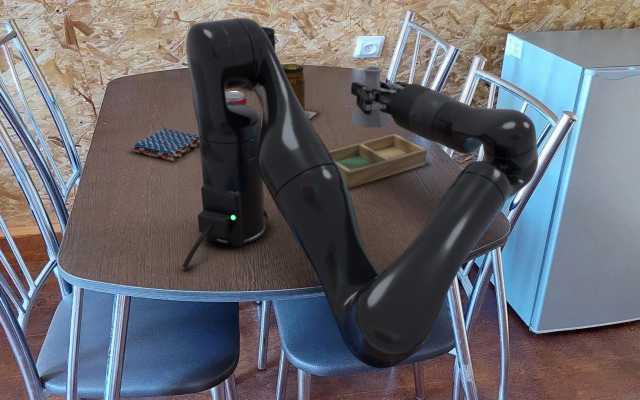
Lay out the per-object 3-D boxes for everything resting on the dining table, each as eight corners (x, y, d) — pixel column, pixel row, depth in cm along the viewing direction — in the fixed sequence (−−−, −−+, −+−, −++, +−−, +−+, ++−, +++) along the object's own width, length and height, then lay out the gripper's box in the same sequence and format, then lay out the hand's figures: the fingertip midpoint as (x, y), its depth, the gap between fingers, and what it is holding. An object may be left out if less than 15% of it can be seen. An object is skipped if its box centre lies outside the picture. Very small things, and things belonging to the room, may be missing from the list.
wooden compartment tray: (425, 164, 115) (427, 149, 114) (348, 188, 106) (349, 172, 104) (393, 147, 122) (394, 133, 121) (318, 168, 113) (319, 153, 111)
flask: (384, 131, 100) (388, 75, 95) (345, 126, 102) (347, 71, 97) (393, 117, 106) (397, 64, 101) (356, 113, 108) (358, 60, 103)
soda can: (244, 154, 117) (241, 99, 112) (220, 152, 118) (216, 97, 112) (252, 145, 122) (249, 91, 116) (229, 142, 123) (225, 89, 117)
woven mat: (131, 153, 118) (129, 144, 117) (163, 135, 126) (162, 127, 125) (171, 163, 114) (170, 153, 113) (202, 144, 122) (201, 135, 121)
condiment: (286, 108, 143) (285, 61, 137) (317, 113, 140) (317, 65, 134) (273, 117, 137) (271, 68, 131) (304, 123, 134) (304, 73, 128)
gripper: (392, 144, 89) (329, 112, 101) (456, 126, 96) (390, 98, 108) (395, 98, 85) (330, 71, 98) (462, 83, 92) (393, 59, 105)
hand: (362, 85), depth 103 cm, fingers closed on flask, 3 cm apart
